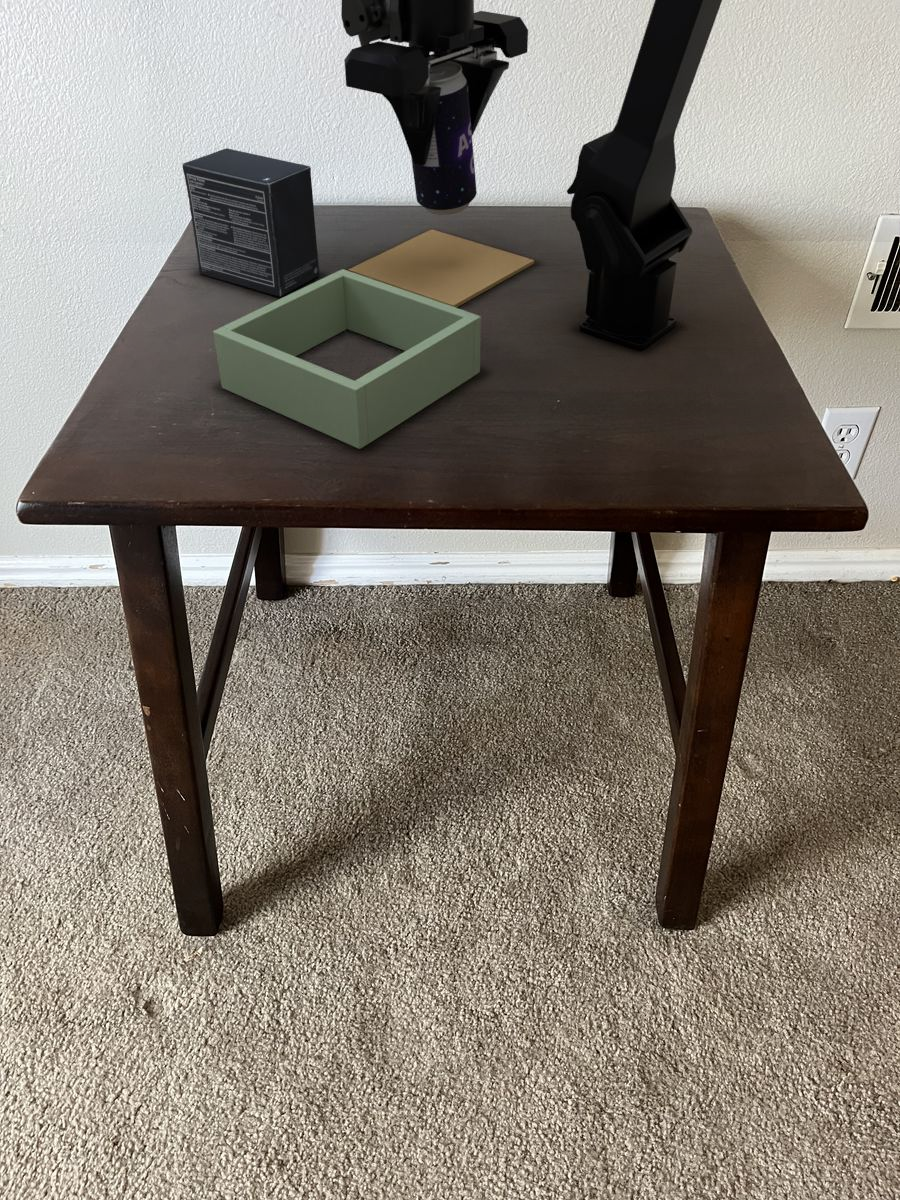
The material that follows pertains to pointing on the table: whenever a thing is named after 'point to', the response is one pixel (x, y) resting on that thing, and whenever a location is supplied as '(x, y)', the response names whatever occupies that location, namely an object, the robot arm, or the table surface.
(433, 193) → the beverage can
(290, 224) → the small box
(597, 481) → the table surface
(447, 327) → the frame
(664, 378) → the table surface
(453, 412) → the table surface
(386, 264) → the mat
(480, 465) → the table surface
